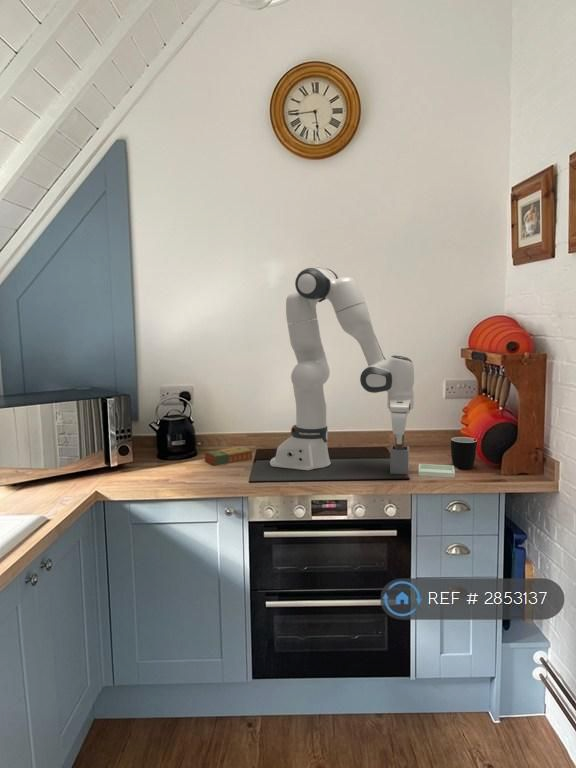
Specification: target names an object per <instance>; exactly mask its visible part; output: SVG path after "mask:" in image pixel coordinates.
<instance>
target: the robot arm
mask: <svg viewBox="0 0 576 768" xmlns="http://www.w3.org/2000/svg"><path fill="white" fill-rule="evenodd" d="M294 284H295V285H294V287H295V290H296V291H292V292H291V293H290V294H289V295H288V296H287V297H286V299H285V315H286V317H285V318H286V322H287V329H288V334H289V341H290V346H291V349H292V350H293V352H294V355H295V358H296V362H297V364H296V365H295V366H294V368H293V369H292V372H291V375H290V380H291V383H292V386H293V393H294V394H293V395H294V399H295V400H294V402H295V410H296V411H295V412H296V415H295V418H296V422H295V423H296V424H293V426H292V427H291V428H290V435H291V436H289V437H288V438H287V439H286V440H284V441H283V442H282V443H281V444H279V445H278V447H277V449H276V452H275V453H276V454H275V456H274V457H272V458H271V459H270V461H269V465H270V466H271V467H275V468H284V469H293V470H302V471H311V470H314V469H315V470H316V469H322V468H326V467H328V466H330V465H331V463H332V462H331V460H330V456H329V451H328V450H329V449H328V440H329V430H328V425H327V404H326V399H325V392H324V385H325V384H326V382H327V381H328V379H329V378H330V367H329V364H328V361H327V360H328V359H327V355H326V352H325V350H324V346H323V343H322V339H321V333H320V327H319V326H320V325H319V320H318V314H317V304H318V303H322V302H323V301H325V300H328V301H329V302H330V303H331V305H332V308H333V310H334V314H335V316H336V319H337V321H338V323H339V325H340V327H341V328H342V330H343V332H345V333H346V334H348V335H349V336H351V337H352V338H354V339H355V340H356V341H357V343H358V344H359V346H360V348H361V351H362V353H363V356H364V358H365V360H366V361H365V362H366V363H367V367H366V368H365V369H363V371H362V372H361V373H360V378H359V381H360V386H361V387H362V388H363V389H364V390H365V391H366V392H369V393H372V394H377V393H383V392H387V404H386V405H387V409H388V410H389V412H390V414H391V417H390V418H391V426H392V427H391V428H392V434H393V435H394V436H395V435H396V438H397V444H402V435H404V436H405V431H406V425H407V417H408V414H410V411H411V410H412V409H414V399H415V395H414V383H415V369H414V362H413V360H411V358H409V357H406V356H402V355H391V356H389V357H388V358H386V357H385V356H384V354H383V351H382V349H381V346H380V343H379V341H378V338H377V336H376V333H375V330H374V327H373V323H372V321H371V316H370V313H369V309H368V306H367V303H366V301H365V298H364V296H363V294H362V293H363V292H362V291H361V289H360V287H359V286H358V283H357V282H356V281H355V279H353V277H349V276H342V277H338V275H337V274H336V273H335V272H334V271H333V270H332V269H329V268H324V267H309V268H304V269H303V270H301V271H300V272H299V273H298V274H297V276H296V278H295V283H294Z"/></svg>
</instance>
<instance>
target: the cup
mask: <svg viewBox="0 0 576 768" xmlns="http://www.w3.org/2000/svg"><path fill="white" fill-rule="evenodd" d="M389 456H390V457H389V458H390V460H389V465H390V466H389V474H390V475H391V474H394V475H409V472H410V446H409V445H404V450H398V449H395V445H391V446H390V451H389Z"/></svg>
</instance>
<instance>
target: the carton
mask: <svg viewBox="0 0 576 768" xmlns="http://www.w3.org/2000/svg"><path fill="white" fill-rule="evenodd" d="M252 452H253V451H252V449H250V448H248V447H246V446H242V445H239V446H238V445H237V446H234V447H233V446H232V447H227V448H222V449H215V450H210V451H205V453H204V462H205V463H208V464H210V465H212V466H217V467H218V466H221V465H222V466H223V465H229V464H233V463H239V462H243V461H250V460H253V453H252Z"/></svg>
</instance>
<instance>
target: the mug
mask: <svg viewBox="0 0 576 768" xmlns="http://www.w3.org/2000/svg"><path fill="white" fill-rule="evenodd" d="M474 439H475V438H473V437H466V436H457V437H452V438H451V439H450V452H451V462H452V466H454V468H457V469H459V470H470V469H472V468H473V467H474V465H475V460H476V456H477V448H478V447H477V446H478V444H477V443H478V440H477V439H476V441H474Z"/></svg>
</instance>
